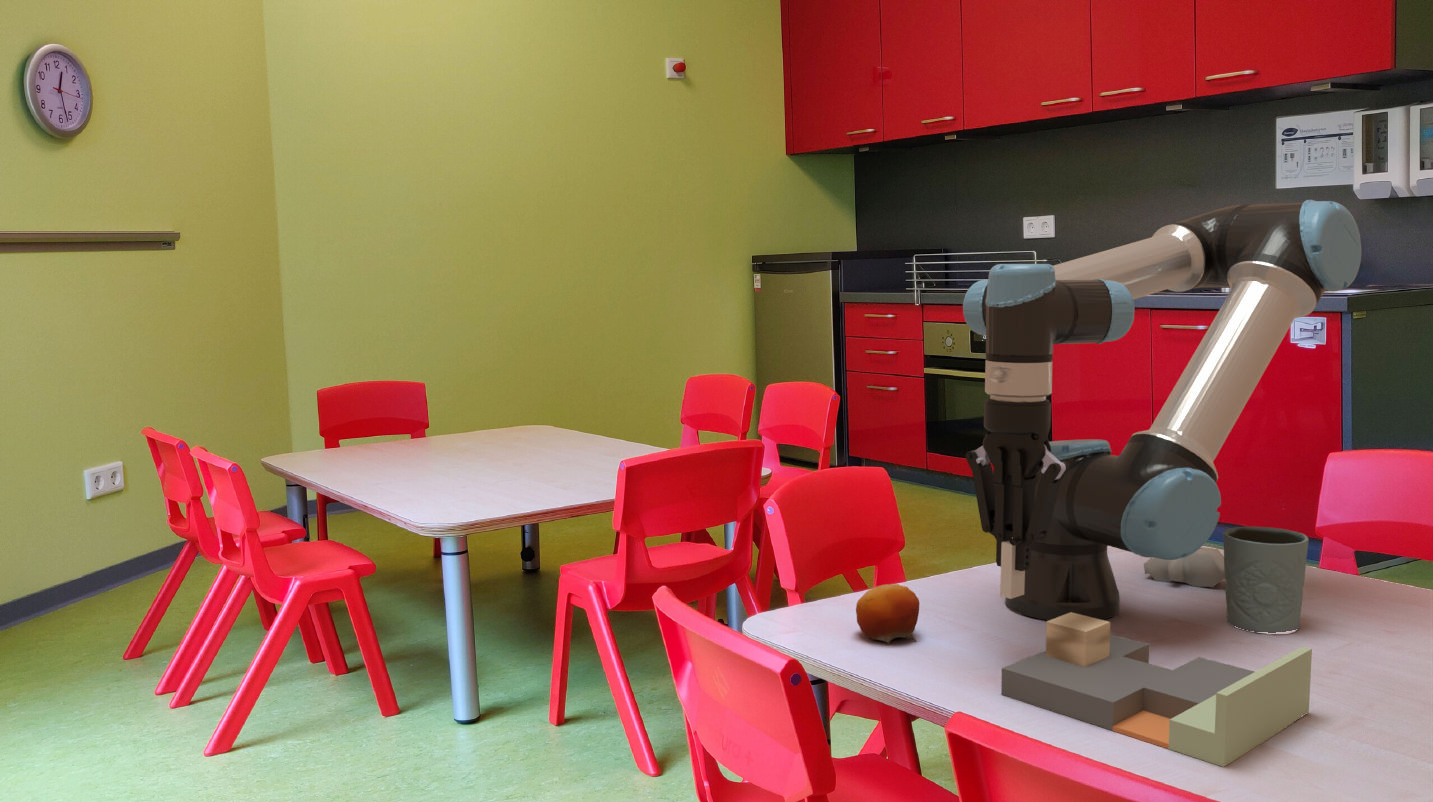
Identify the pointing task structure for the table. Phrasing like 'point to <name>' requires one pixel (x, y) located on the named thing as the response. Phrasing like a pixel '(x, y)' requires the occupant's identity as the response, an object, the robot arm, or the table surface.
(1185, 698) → the box
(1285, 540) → the embossed grey cup
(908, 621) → the fruit
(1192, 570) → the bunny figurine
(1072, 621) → the block
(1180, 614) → the table surface
